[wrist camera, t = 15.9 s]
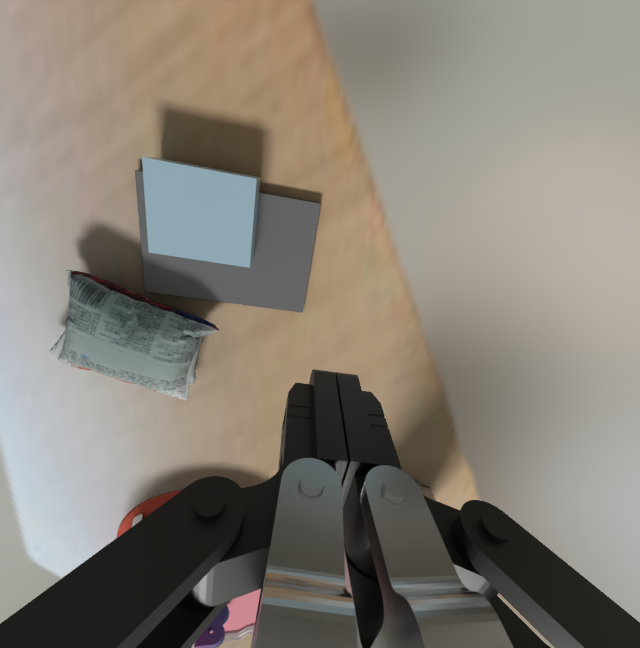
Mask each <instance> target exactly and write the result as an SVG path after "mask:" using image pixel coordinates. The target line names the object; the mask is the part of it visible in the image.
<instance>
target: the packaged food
mask: <svg viewBox="0 0 640 648" xmlns="http://www.w3.org/2000/svg"><path fill="white" fill-rule="evenodd" d="M67 272H68V286H69V289H70V299H69V316H68V319H67V327H66V329H65V331H64V333H63V335H62V336H61V337H60V339H59V340H58V342H57V343H56V344H55V345H54V347H52V348H51V350H50V353H51V355H53V356H54V357H56V358H57V359H58V360H59V361H61V362H63V363H70V364H71V366H72V367H75V368H79V369H86V370H93V371H96V372H98V373H101V374H104V375H107V376H110V377H113V378H116V379H119V380H122V381H125V382H128V383H132V384H139V385H141V386H144V387H146V388H149V389H151V390H154V391H156V392H160V393H162V394H164V395H168V396H172V397H177V398H180V399H184V400H186V401H187V404H188V393H189V385H190V384H191V385H192V384H193V383H194V382H195V380H196V372H195V367H196V363H197V356H198V351H199V346H200V344H201V341H202V339H203V336H206V335H209V334H212V333H214V332H218V331H219V329H218V328H217V327H216V326H215V325H214V324H212V323H210V322H208V321H206V320H204V319H202V318H200V317H197V316H194V315H192V314H189V313H186V312H184V311H181V310H178V309H174V308H171V307H169V306H167V305H163V304H160V303H156V302H153V301H151V300H149V299H147V298H146V297H144V296H141V295H138V294H136V293H134V292H131V291H129V290H126V289H124V288H121V287H119V286H118V285H116V284H113V283H110V282H108V281H106V280H104V279H101V278H99V277H97V276H94V275H91V274H87V273H84V272H79V271H72V270H67Z"/></svg>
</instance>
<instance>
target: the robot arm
mask: <svg viewBox="0 0 640 648" xmlns="http://www.w3.org/2000/svg"><path fill="white" fill-rule="evenodd" d="M259 589H261V590H260V596H259V602H258V608H257V614H256V620H255V626H254V632H253V637H252V643H251V648H550V647H549V646H548V645H546V644H545V643H544V642H543V641H542V640H541V639H540V638H539V637H538V636H537V635H536V634H535V633H534V632H533V631H532V630H531V629H530V628H529V627H528V626H527V625H526V624H525V623H524V622H523V621H522V620H521V619H520V618H519V617H518V616H517V615H516V614H515V613H514V612H513V611H512V610H511V609H510V608H509V607H508V606H507V605H506V604H505V603H504V602H503V601H502V600H501V599H500V598H499V597H498V596H497V594H498V593H500V594H501V595H502V596H503V597H504V598H505V599H506V600H507V601H508V602H509V603H510V604H511V605H512V606H513V607H514V608H515V609H516V610H517V611H518V612H519V613H520V614H521V615H522V616H523V617H524V618H525V619H526V620H527V621H528V622H529V623H530V624H531V625H532V626H534V628H535V629H537V631H538V632H539V633H540V634H541V635H543V637H545V638H546V639H547V640H548V641H549V642H550V643H551V644H552V645H553V646H554V647H555V648H640V623H639V622H638V621H637V620H636V619H635V618H633V617H632V616H631V615H629V614H628V613H627V612H626V611H625V610H623V609H622V608H621V607H620V606H619V605H617V604H616V603H615V602H614V601H612V600H611V599H610V598H609V597H607V596H606V595H605V594H604V593H603V592H601V591H600V590H599V589H598V588H596V587H595V586H594V585H592V584H591V583H590V582H589V581H588V580H587V579H585V578H584V577H583V576H582V575H580V574H579V573H578V572H577V571H575V570H574V569H573V568H572V567H570V566H569V565H568V564H567V563H565V562H564V561H563V560H562V559H561V558H559V557H558V556H557V555H556V554H555V553H553V552H552V551H551V550H550V549H548V548H547V547H546V546H545V545H543V544H542V543H541V542H540V541H538V540H537V539H536V538H535V537H534V536H532V535H531V534H530V533H529V532H527V531H526V530H525V529H524V528H522V527H521V526H520V525H519V524H518V523H516V522H515V521H514V520H513V519H511V518H510V517H509V516H508V515H506V514H505V513H504V512H503V511H501V510H500V509H498V508H497V507H495V506H493V505H491V504H489V503H487V502H484V501H479V500H471V501H468V502H466V503H465V504H464V505H463V506H462V508H461V510H457V509H455V508H452V507H450V506H447V505H445V504H442V503H440V502H437V501H436V499H435V497H434V494H433V492H432V489H431V488H426V487H423V486H421V485H420V484H419V483H417V482H415V480H414V479H413V478H412V477H411V476H409V475H408V474H407V473H406V472H404V471H402V469H401V465H400V462H399V459H398V456H397V453H396V450H395V447H394V444H393V441H392V438H391V434H390V431H389V429H388V425H387V422H386V419H385V418H384V413H383V410H382V407H381V403H380V402H379V401H378V400H377V399H376V397H375V396H374V395H373V394H372V393H371V392H366V391H362V390H361V386H360V382H359V378H358V376H357V375H352V374H344V373H337V372H336V373H334V372H328V371H321V370H312V373H311V377H310V382H309V384H302V383H295V384H294V386H293V387H292V388H291V390H290V391H289V393H288V398H287V404H286V409H285V415H284V421H283V426H282V436H281V447H280V459H279V470H278V472H277V473H276V475H274V476H273V477H272V478H271V479H269V480H268V481H266V482H264V483H262V484H258V485H255V486H251V487H246V488H242V489H241V488H240V487H239V486H238V484H236V483H235V482H234V481H232V480H230V479H228V478H224V477H218V476H212V477H206V478H202V479H199V480H197V481H195V482H193V483H192V484H190V485H189V486H187V487H186V488H184V489H183V490H182V491H180V492H179V493H178V494H176V495H175V496H174V497H172V498H171V499H170V500H168V501H167V502H165V503H164V504H163V505H161V506H160V507H159V508H157V509H156V510H155V511H153V512H152V513H150V514H149V515H148V516H146V517H145V518H144V519H142V520H141V521H140V522H138V523H137V524H136V525H134V526H133V527H131V528H130V529H129V530H127V531H126V532H125V533H123V534H122V535H121V536H119V537H118V538H116V539H115V540H114V541H112V542H111V543H110V544H108V545H107V546H106V547H104V548H103V549H102V550H100V551H99V552H97V553H96V554H95V555H93V556H92V557H91V558H89V559H88V560H87V561H85V562H84V563H82V564H81V565H80V566H78V567H77V568H76V569H74V570H73V571H72V572H70V573H69V574H68V575H66V576H65V577H63V578H62V579H61V580H60V581H58V582H57V583H55V584H54V585H53V586H51V587H50V588H49V589H47V590H46V591H44V592H43V593H42V594H40V595H39V596H38V597H36V598H35V599H34V600H32V601H31V602H29V603H28V604H27V605H25V606H24V607H23V608H22V609H20V610H19V611H17V612H16V613H15V614H13V615H12V616H10V617H9V618H8V619H6V620H5V621H4V622H2V623H1V624H0V648H191V646H192V645H193V644H194V643H195V642H196V641H197V639H198V638H199V637H200V636H201V635H202V633H203V632H204V631H205V630H206V629H207V627H208V626H209V625H210V624H211V623H212V621H213V620H214V619H215V618H216V617H217V615H218V614H219V613H220V612H221V611H222V610H223V608H224V607H225V606H226V605H227V603H228V602H229V601H230V600H232V599H235V598H238V597H240V596H243V595H246V594H248V593H251V592H254V591H256V590H259Z"/></svg>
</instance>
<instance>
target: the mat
mask: <svg viewBox="0 0 640 648" xmlns="http://www.w3.org/2000/svg"><path fill="white" fill-rule="evenodd" d="M135 178H136V190H137V202H138V214H139V226H140V238H141V250H142V262H143V274H144V286H145V292H152V293H160V294H167V295H175V296H182V297H190V298H197V299H205V300H212V301H220V302H227V303H235V304H242V305H250V306H257V307H265V308H273V309H280V310H288V311H295V312H303V308H304V302H305V296H306V290H307V284H308V278H309V272H310V266H311V260H312V254H313V248H314V242H315V236H316V230H317V224H318V217H319V211H320V205H321V203H318V202H312V201H307V200H301V199H295V198H290V197H284V196H279V195H273V194H268V193H262V192H259V200H258V212H257V224H256V236H255V248H254V260H253V262H252V264H251V266H250V268H248V267H241V266H235V265H228V264H221V263H215V262H208V261H201V260H195V259H188V258H182V257H175V256H168V255H162V254H155V253H149V251H148V237H147V222H146V208H145V194H144V179H143V171H141V170H135Z"/></svg>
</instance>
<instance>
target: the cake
mask: <svg viewBox="0 0 640 648" xmlns="http://www.w3.org/2000/svg"><path fill="white" fill-rule="evenodd" d="M180 491H182V490H180ZM180 491H174V492H170V493H166V494H163V495H159V496H157V497H154V498H152V499H149V500H147V501H145V502H143V503H142V504H140V505H138V506H137V507H135V508H134V509H133V510H132V511H131V512H129V513H128V514H127V516H126V517H125V518H124V519H123V521H122V522H121V524H120V527H119V530H118V533H117V538H118V537H119V536H121V535H122V534H123V533H125V532H126V531H127V530H129V529H130V528H131V527H133V526H134V525H136V524H137V523H138V522H140V521H141V520H142V519H144V518H145V517H146V516H148V515H149V514H150V513H152V512H153V511H155V510H156V509H157V508H159V507H160V506H161V505H163V504H164V503H165V502H167V501H168V500H170V499H171V498H172V497H174V496H175V495H176V494H178V493H179V492H180ZM260 590H261V589H259V590H256V591H254V592H251V593H248V594H246V595H243V596H240V597H238V598H235V599H232V600H230V601H229V602H228V603H227V605H226V606H225V607H224V608H223V610H222V611H221V612H220V613H219V614H218V615H217V617H216V618H215V619H214V620H213V621H212V623H211V624H210V625H209V626H208V627H207V629H206V630H205V631H204V632H203V633H202V635H201V636H200V637H199V638H198V639H197V641H196V642H195V643H194V644H195V645H194V647H195V648H216V647H218V646H220V645H221V644H222V642H225V641H232V640H239V639H242V638H243V637H245V636H247V635H249V634H252V633H253V632H254V626H255V620H256V614H257V608H258V602H259V596H260Z"/></svg>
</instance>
